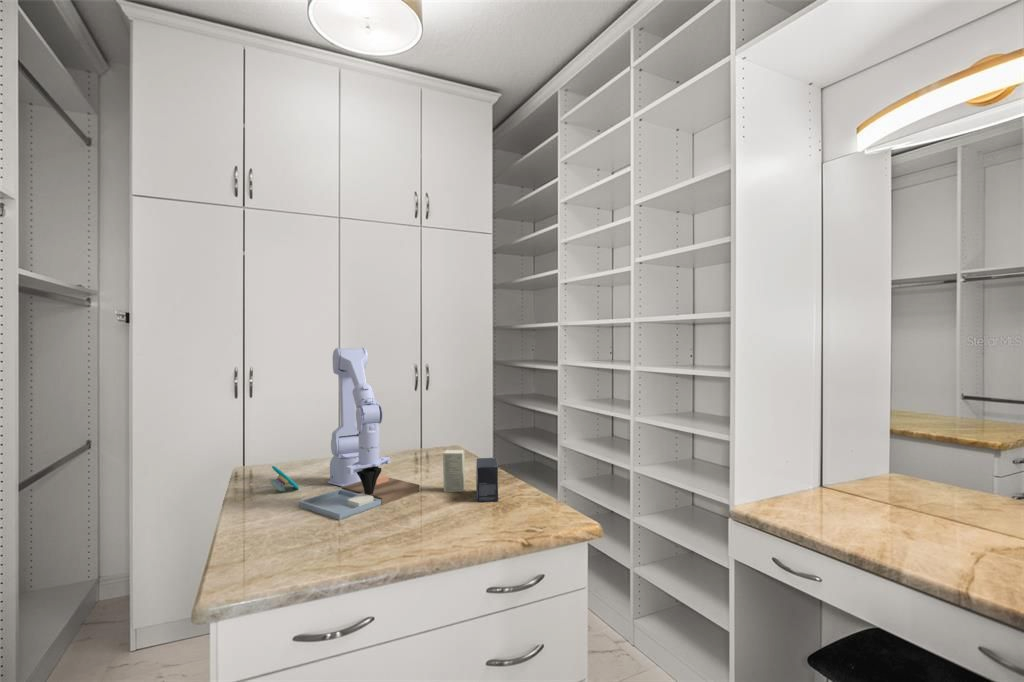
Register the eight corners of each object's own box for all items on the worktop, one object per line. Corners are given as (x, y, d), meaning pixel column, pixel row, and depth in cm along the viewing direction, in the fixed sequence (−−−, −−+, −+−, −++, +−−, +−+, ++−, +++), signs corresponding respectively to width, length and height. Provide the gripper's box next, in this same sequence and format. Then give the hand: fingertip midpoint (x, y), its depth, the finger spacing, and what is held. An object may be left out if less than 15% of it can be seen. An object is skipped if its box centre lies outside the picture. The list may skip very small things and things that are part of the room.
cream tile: (347, 504, 142) (347, 499, 141) (362, 497, 146) (361, 493, 146) (359, 508, 139) (358, 503, 139) (373, 501, 143) (373, 496, 143)
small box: (475, 491, 156) (476, 457, 156) (496, 490, 157) (497, 457, 156) (476, 502, 145) (476, 466, 145) (498, 502, 146) (499, 465, 146)
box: (298, 506, 141) (298, 501, 141) (340, 493, 153) (340, 488, 153) (339, 520, 131) (339, 514, 131) (381, 505, 143) (381, 499, 143)
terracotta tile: (365, 481, 158) (365, 477, 158) (377, 478, 162) (377, 473, 162) (376, 484, 155) (376, 479, 155) (388, 480, 160) (388, 476, 159)
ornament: (262, 477, 158) (261, 475, 149) (273, 465, 160) (273, 463, 151) (288, 499, 159) (289, 499, 150) (299, 487, 161) (300, 487, 152)
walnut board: (341, 493, 153) (341, 486, 153) (379, 481, 166) (379, 475, 165) (382, 504, 143) (382, 497, 143) (419, 491, 155) (419, 484, 155)
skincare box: (465, 488, 159) (465, 449, 159) (463, 492, 154) (463, 453, 154) (445, 487, 159) (445, 449, 159) (442, 492, 155) (442, 452, 155)
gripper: (357, 453, 136) (357, 503, 136) (397, 443, 148) (397, 489, 149) (340, 449, 140) (341, 498, 140) (381, 440, 152) (381, 485, 152)
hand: (368, 493), depth 145 cm, fingers closed
